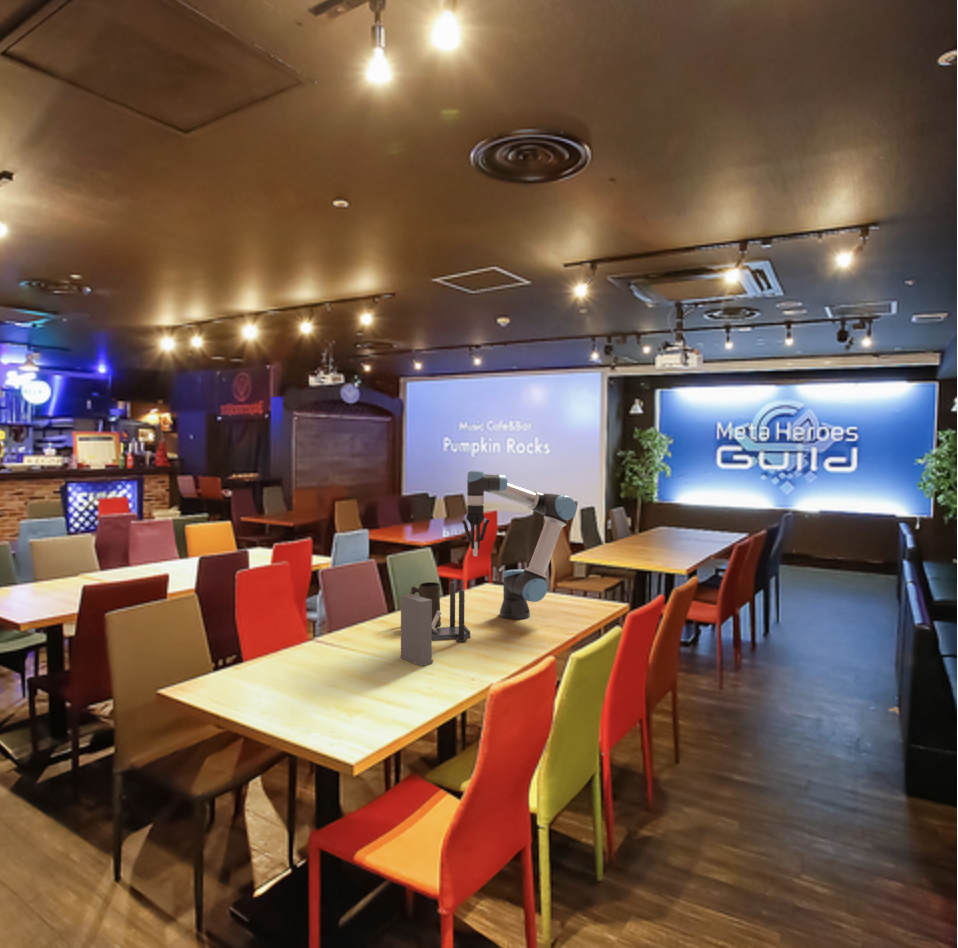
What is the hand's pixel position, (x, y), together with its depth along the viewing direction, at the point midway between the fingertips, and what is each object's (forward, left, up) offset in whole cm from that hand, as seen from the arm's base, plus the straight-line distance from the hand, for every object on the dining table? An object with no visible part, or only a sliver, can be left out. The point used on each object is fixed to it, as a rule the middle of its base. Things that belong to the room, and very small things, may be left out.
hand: (475, 555), depth 297 cm
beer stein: (+21, -13, -35) cm, 43 cm away
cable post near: (+10, +16, -34) cm, 39 cm away
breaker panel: (+17, +6, -34) cm, 39 cm away
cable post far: (+10, -2, -34) cm, 36 cm away
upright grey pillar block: (+33, +37, -35) cm, 60 cm away
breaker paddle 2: (+20, +7, -31) cm, 38 cm away
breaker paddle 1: (+20, +1, -31) cm, 37 cm away
